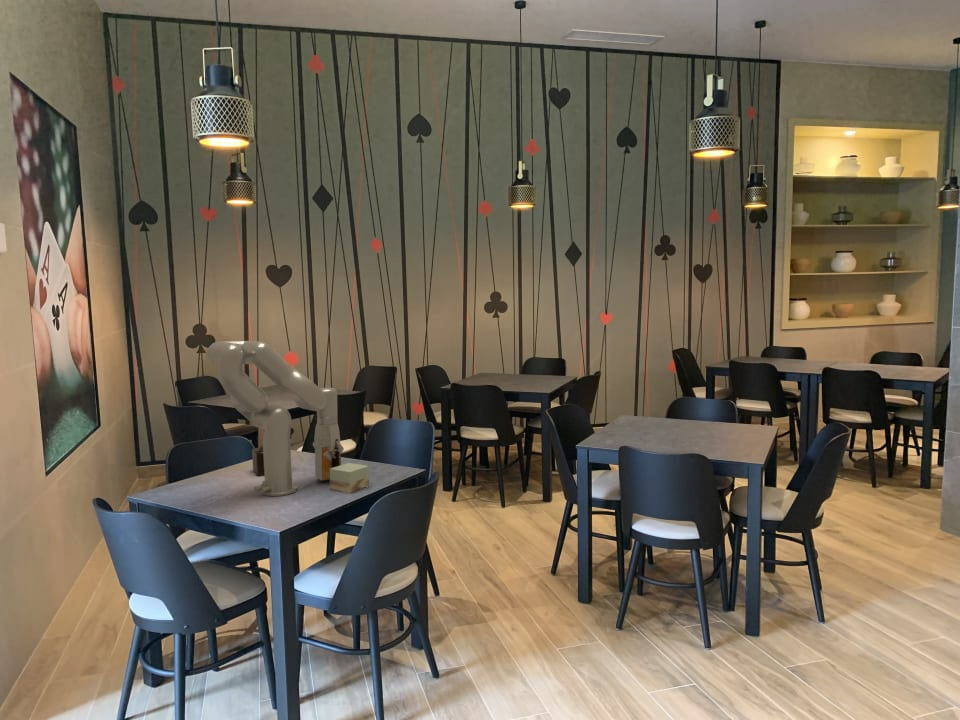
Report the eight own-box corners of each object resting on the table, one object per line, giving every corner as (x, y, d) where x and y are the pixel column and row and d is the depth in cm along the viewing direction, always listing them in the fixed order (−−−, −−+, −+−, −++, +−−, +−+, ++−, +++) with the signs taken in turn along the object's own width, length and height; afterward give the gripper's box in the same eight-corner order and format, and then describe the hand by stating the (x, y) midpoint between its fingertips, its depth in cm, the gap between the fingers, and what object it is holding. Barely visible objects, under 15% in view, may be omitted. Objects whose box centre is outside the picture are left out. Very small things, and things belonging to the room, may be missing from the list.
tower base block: (349, 493, 263) (348, 482, 263) (330, 489, 269) (329, 479, 269) (369, 487, 271) (368, 476, 271) (350, 483, 277) (349, 473, 277)
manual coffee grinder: (258, 477, 288) (255, 431, 286) (252, 471, 298) (249, 427, 296) (297, 471, 295) (295, 427, 293) (290, 465, 305) (288, 423, 303)
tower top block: (350, 483, 262) (349, 472, 262) (330, 479, 268) (329, 468, 267) (369, 476, 271) (368, 466, 270) (349, 473, 276) (348, 462, 276)
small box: (321, 480, 275) (321, 446, 274) (315, 477, 280) (314, 443, 279) (341, 477, 280) (341, 444, 279) (334, 474, 285) (334, 441, 284)
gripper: (304, 419, 280) (305, 465, 282) (335, 424, 270) (336, 471, 271) (319, 417, 286) (320, 461, 288) (350, 421, 276) (351, 467, 277)
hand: (328, 466), depth 280 cm, fingers closed on small box, 7 cm apart
